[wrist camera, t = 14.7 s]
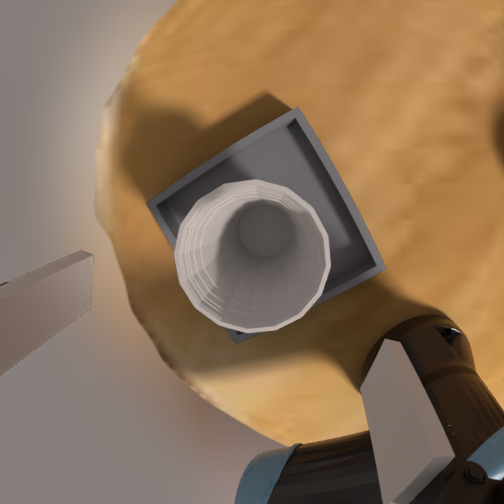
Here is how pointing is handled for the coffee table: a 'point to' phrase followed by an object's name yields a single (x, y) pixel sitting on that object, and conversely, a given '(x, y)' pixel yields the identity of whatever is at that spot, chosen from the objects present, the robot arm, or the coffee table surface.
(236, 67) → the coffee table surface
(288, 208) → the plastic cup
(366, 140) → the coffee table surface
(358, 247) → the bin
